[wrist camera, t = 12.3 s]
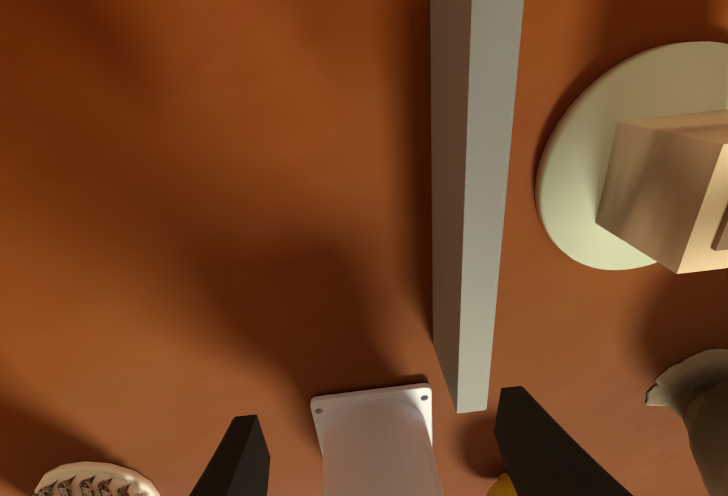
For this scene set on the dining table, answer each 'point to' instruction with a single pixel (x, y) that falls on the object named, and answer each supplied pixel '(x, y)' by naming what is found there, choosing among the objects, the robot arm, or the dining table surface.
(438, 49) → the grey rectangular bar
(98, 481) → the decorative candle
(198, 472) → the dining table surface
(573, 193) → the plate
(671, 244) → the cube
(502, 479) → the lemon
